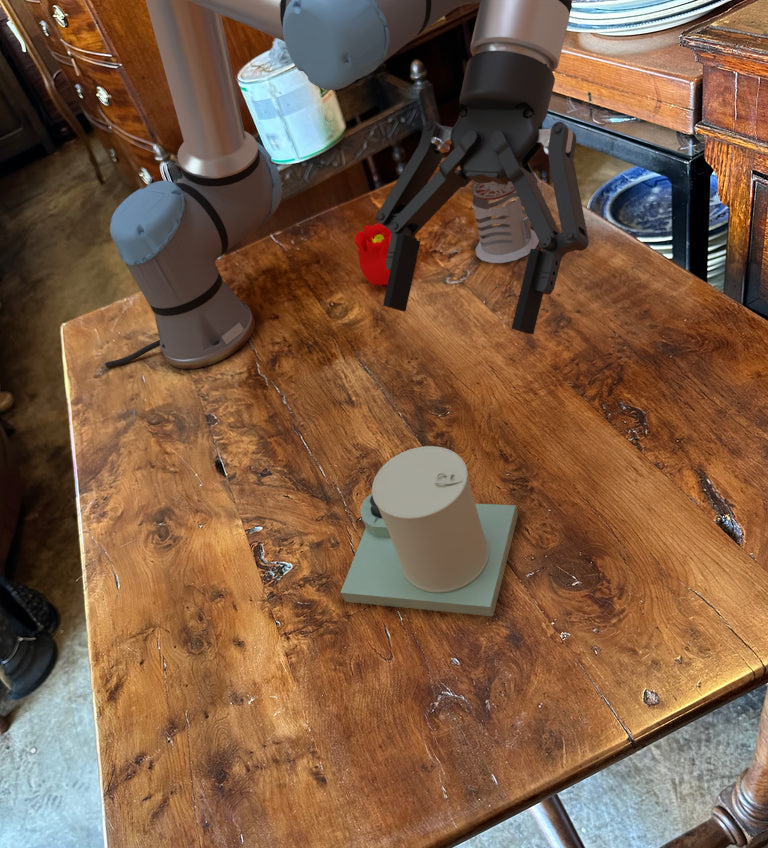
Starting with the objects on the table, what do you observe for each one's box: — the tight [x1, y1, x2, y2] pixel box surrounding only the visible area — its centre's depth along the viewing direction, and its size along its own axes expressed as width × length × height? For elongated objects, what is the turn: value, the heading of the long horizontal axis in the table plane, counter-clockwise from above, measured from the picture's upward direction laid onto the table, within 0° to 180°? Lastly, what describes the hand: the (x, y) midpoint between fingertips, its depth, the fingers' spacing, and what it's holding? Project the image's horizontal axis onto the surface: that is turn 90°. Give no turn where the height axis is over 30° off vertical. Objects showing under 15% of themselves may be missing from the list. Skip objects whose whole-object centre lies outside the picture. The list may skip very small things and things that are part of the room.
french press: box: [471, 171, 543, 264], centre depth 111 cm, size 10×12×25 cm
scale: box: [340, 492, 519, 617], centre depth 83 cm, size 16×13×4 cm
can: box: [371, 445, 489, 593], centre depth 77 cm, size 9×9×12 cm
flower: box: [353, 222, 391, 286], centre depth 120 cm, size 8×8×8 cm
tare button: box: [370, 496, 382, 518], centre depth 85 cm, size 3×3×2 cm
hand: (454, 320), depth 70 cm, fingers open, 13 cm apart
